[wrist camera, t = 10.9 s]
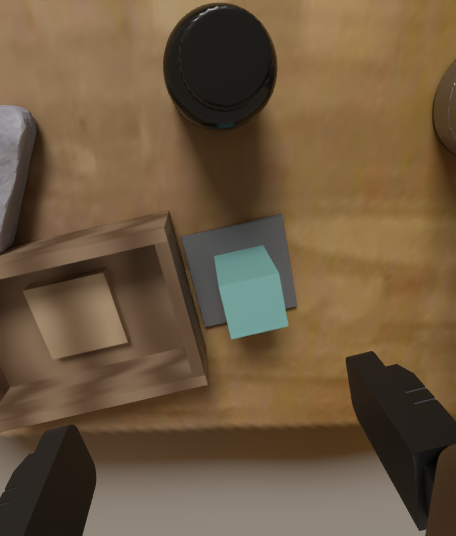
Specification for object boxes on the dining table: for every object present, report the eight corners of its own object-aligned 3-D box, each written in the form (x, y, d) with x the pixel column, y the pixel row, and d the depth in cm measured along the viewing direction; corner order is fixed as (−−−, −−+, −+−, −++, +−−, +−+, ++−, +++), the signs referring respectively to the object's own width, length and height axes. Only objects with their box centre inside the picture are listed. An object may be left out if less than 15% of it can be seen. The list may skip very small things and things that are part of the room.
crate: (168, 210, 34) (164, 228, 29) (205, 347, 39) (207, 384, 34) (-58, 262, 34) (-108, 289, 29) (8, 392, 39) (-23, 437, 34)
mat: (280, 214, 35) (282, 215, 35) (295, 303, 38) (297, 306, 38) (181, 236, 35) (181, 238, 35) (204, 324, 38) (205, 327, 38)
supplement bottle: (253, 131, 33) (284, 136, 21) (169, 126, 32) (156, 129, 21) (260, 36, 30) (299, -14, 19) (169, 29, 30) (155, -27, 18)
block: (263, 245, 35) (278, 272, 29) (271, 290, 37) (288, 326, 30) (213, 256, 35) (218, 286, 29) (224, 300, 37) (231, 339, 30)
